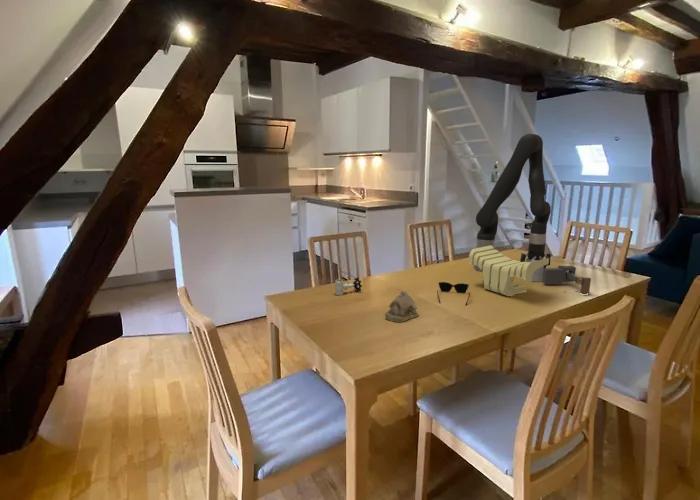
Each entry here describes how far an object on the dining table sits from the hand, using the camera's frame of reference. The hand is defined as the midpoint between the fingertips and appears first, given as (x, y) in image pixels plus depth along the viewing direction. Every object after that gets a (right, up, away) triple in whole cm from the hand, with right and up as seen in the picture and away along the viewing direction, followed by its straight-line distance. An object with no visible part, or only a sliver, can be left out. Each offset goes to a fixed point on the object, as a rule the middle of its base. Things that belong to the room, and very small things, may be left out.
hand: (533, 273), depth 199 cm
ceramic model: (-72, -14, -43) cm, 85 cm away
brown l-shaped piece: (+9, -6, -13) cm, 17 cm away
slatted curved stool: (-21, -7, -15) cm, 27 cm away
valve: (-94, -8, -17) cm, 96 cm away
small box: (0, -3, +1) cm, 3 cm away
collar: (+8, -4, -8) cm, 12 cm away
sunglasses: (-47, -10, -24) cm, 54 cm away
